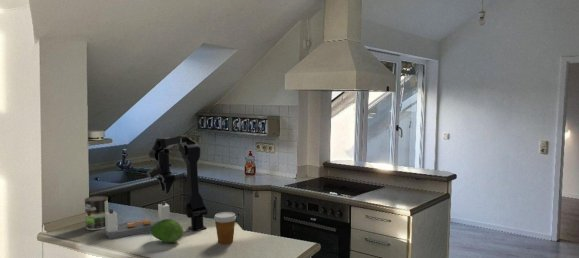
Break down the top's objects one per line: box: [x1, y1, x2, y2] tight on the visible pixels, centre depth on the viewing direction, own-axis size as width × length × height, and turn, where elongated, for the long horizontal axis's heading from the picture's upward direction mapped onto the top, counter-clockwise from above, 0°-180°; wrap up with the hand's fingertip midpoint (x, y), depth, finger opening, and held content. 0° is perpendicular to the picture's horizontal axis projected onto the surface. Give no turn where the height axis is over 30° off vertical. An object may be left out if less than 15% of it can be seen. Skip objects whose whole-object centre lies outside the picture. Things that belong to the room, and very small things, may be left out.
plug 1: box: [105, 208, 119, 232], centre depth 208 cm, size 5×4×10 cm
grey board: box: [105, 219, 160, 240], centre depth 215 cm, size 8×28×2 cm, turn 123°
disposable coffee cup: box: [213, 211, 237, 245], centre depth 198 cm, size 10×10×12 cm
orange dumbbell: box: [126, 219, 151, 227], centre depth 215 cm, size 3×10×2 cm, turn 122°
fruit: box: [149, 218, 184, 244], centre depth 200 cm, size 15×10×10 cm, turn 64°
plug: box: [157, 200, 171, 221], centre depth 221 cm, size 5×4×10 cm
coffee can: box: [84, 195, 109, 231], centre depth 222 cm, size 10×10×14 cm
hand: (165, 191), depth 237 cm, fingers open, 6 cm apart
